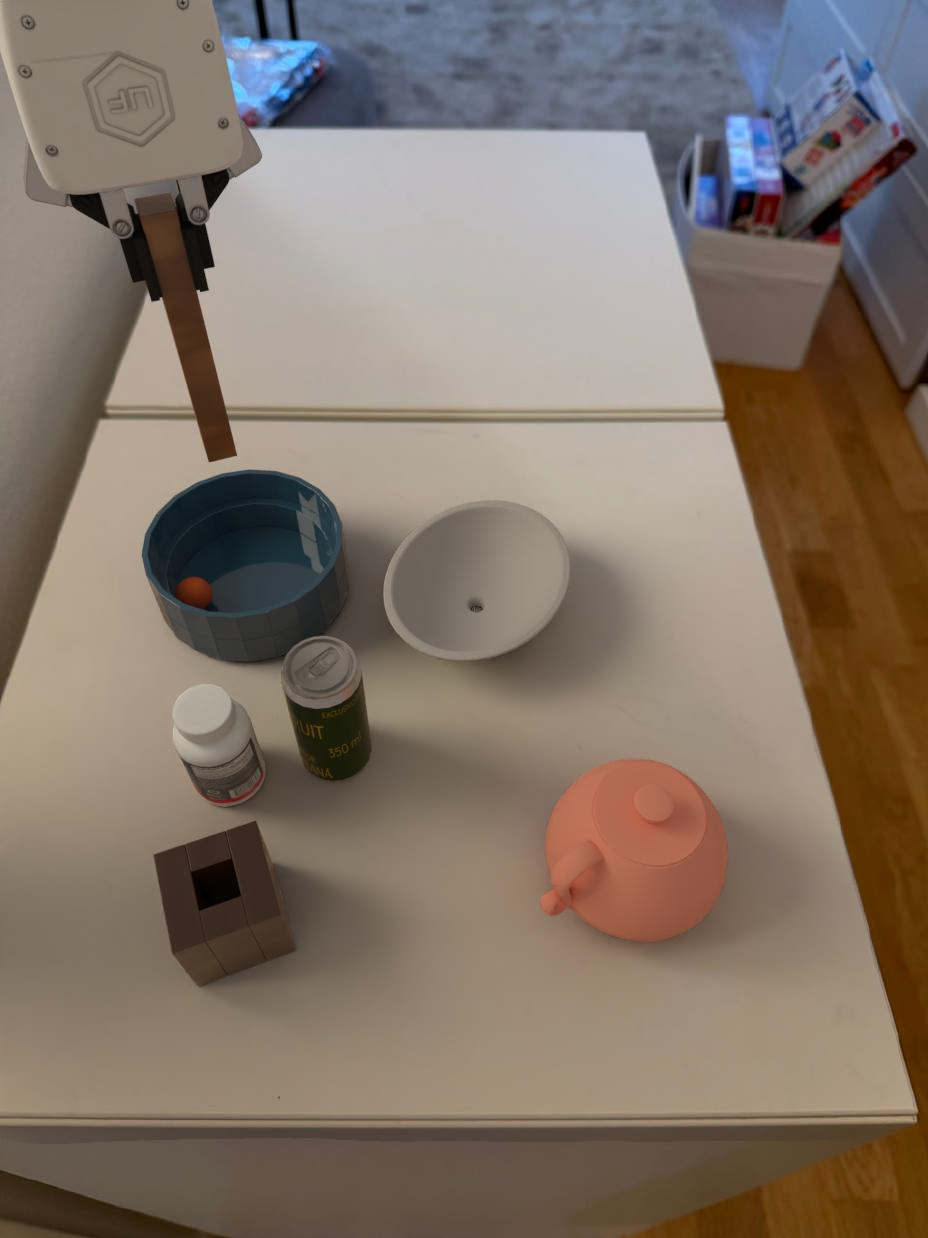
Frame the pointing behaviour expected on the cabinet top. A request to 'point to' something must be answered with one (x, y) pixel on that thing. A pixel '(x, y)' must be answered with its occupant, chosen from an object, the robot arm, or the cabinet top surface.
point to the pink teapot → (635, 851)
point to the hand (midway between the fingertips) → (175, 281)
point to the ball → (194, 592)
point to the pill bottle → (217, 745)
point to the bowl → (249, 563)
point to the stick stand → (223, 904)
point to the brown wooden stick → (186, 322)
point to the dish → (477, 580)
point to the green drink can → (327, 707)
